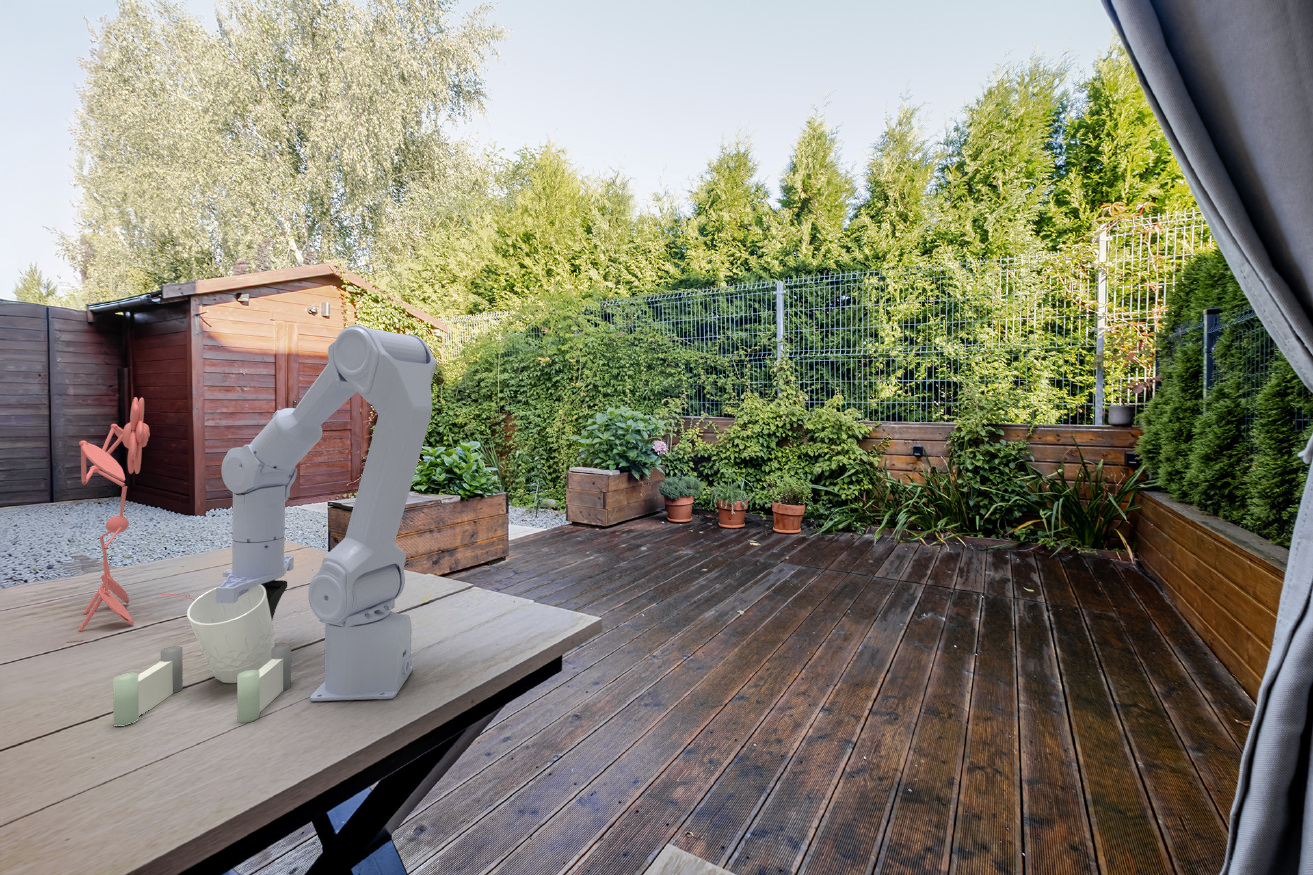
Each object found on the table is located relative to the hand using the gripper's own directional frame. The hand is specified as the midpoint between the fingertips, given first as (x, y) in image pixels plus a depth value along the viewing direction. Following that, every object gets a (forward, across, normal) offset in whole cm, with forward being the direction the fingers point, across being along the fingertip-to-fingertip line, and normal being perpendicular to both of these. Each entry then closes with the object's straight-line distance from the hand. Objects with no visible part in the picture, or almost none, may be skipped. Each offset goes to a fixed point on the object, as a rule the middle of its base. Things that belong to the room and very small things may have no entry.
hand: (257, 638), depth 78 cm
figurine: (+4, -19, -28) cm, 34 cm away
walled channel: (+3, +11, +1) cm, 12 cm away
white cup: (+2, +3, 0) cm, 4 cm away
